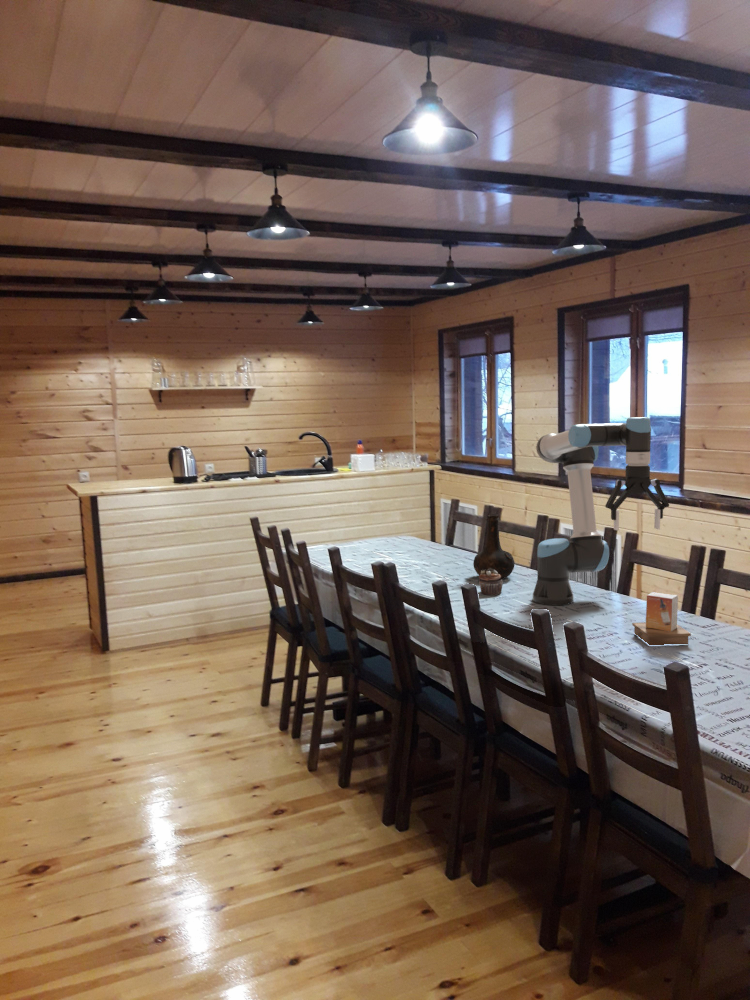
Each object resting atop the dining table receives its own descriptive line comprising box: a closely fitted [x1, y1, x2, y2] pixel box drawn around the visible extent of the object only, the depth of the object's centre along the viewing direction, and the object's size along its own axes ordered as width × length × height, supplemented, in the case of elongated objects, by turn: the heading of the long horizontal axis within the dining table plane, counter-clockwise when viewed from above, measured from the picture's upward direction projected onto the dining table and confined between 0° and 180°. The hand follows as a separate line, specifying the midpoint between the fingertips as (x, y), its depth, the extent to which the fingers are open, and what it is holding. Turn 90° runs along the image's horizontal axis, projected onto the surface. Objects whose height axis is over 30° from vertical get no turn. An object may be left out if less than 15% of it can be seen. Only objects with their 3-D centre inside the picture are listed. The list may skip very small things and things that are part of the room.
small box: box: [645, 591, 679, 632], centre depth 229 cm, size 8×6×10 cm
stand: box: [631, 621, 692, 645], centre depth 230 cm, size 13×13×4 cm
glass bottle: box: [472, 513, 516, 580], centre depth 320 cm, size 18×18×28 cm
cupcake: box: [478, 568, 504, 596], centre depth 295 cm, size 10×10×10 cm
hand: (636, 529), depth 242 cm, fingers open, 13 cm apart
